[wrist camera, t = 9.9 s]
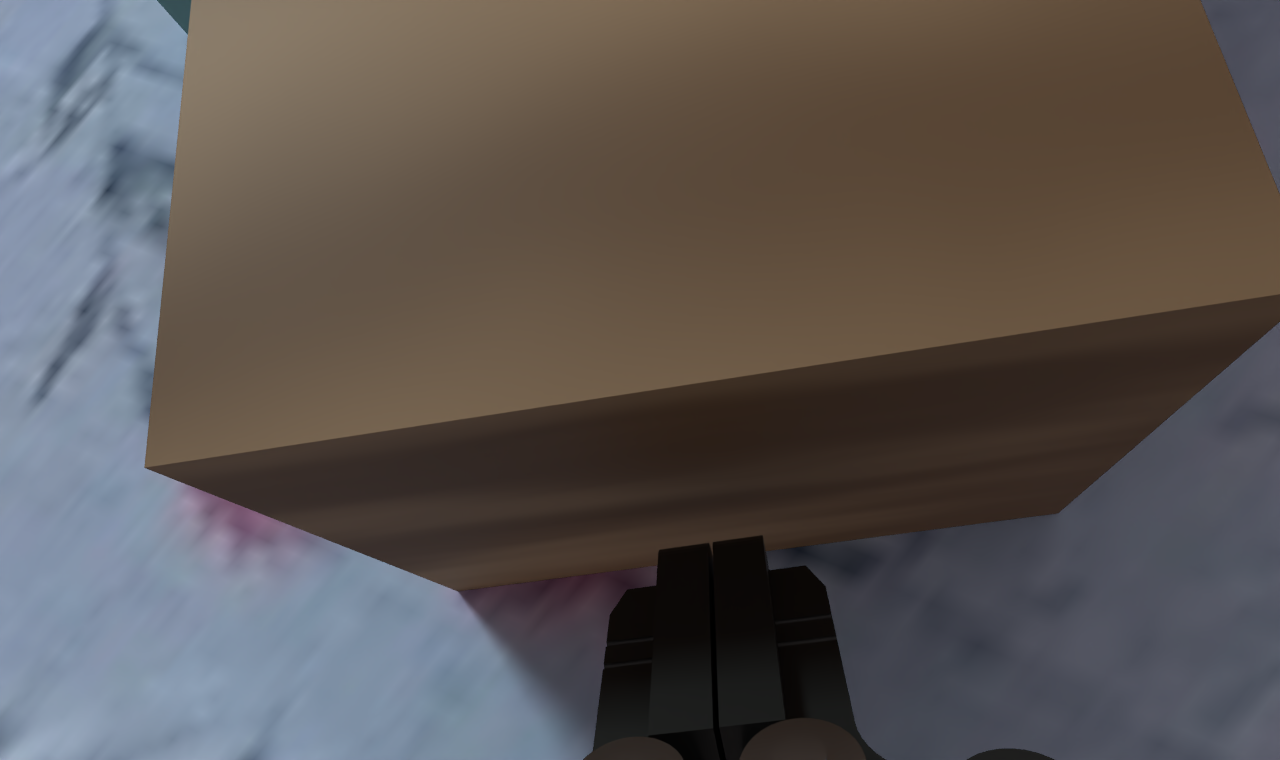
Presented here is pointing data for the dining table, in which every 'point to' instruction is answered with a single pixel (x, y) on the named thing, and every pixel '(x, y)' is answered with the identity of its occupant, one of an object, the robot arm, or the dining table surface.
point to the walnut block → (692, 267)
